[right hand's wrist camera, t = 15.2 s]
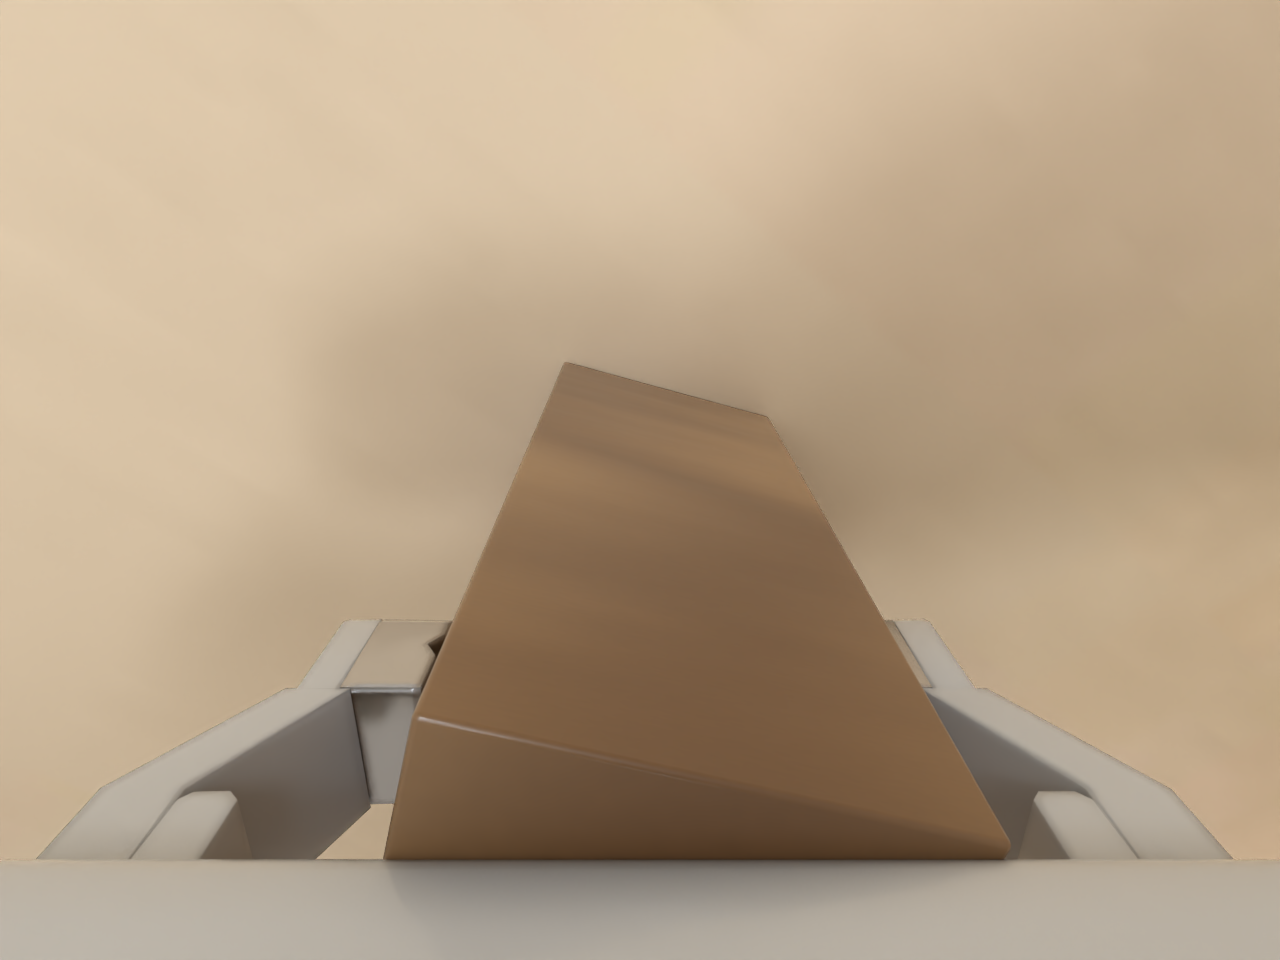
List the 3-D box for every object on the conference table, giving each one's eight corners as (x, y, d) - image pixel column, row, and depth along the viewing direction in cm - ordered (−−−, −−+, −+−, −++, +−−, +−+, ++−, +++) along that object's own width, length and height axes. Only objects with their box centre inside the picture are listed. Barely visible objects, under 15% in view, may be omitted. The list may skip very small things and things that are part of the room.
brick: (514, 565, 17) (325, 1135, 7) (564, 361, 15) (410, 713, 5) (700, 609, 17) (788, 1209, 7) (769, 417, 16) (1016, 846, 5)
